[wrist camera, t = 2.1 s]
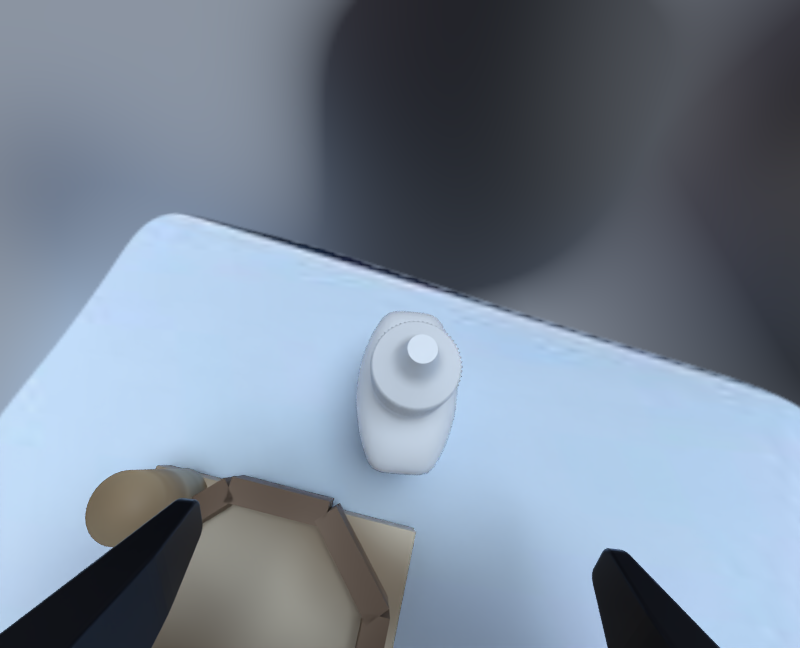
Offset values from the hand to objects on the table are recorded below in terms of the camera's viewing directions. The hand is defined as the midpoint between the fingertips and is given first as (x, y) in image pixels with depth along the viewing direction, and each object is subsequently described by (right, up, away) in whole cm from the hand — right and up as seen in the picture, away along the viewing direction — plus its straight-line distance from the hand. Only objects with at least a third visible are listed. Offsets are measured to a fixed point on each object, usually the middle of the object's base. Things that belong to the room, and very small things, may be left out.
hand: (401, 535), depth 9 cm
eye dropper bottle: (0, 0, +12) cm, 12 cm away
